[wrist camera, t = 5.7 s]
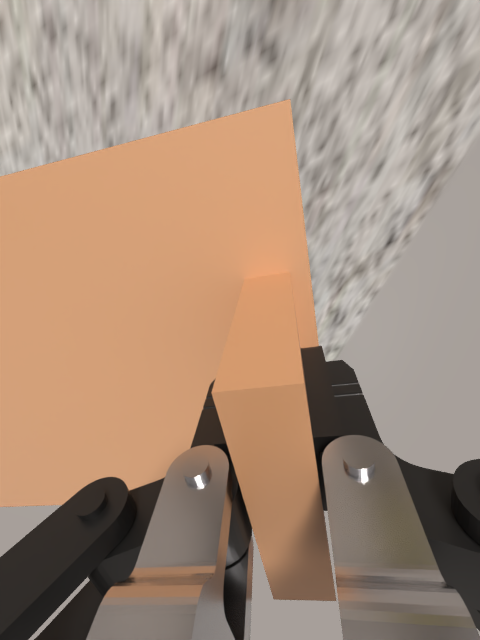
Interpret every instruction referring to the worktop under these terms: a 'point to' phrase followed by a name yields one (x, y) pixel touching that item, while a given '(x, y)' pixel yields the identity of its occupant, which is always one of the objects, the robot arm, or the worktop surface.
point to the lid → (165, 326)
